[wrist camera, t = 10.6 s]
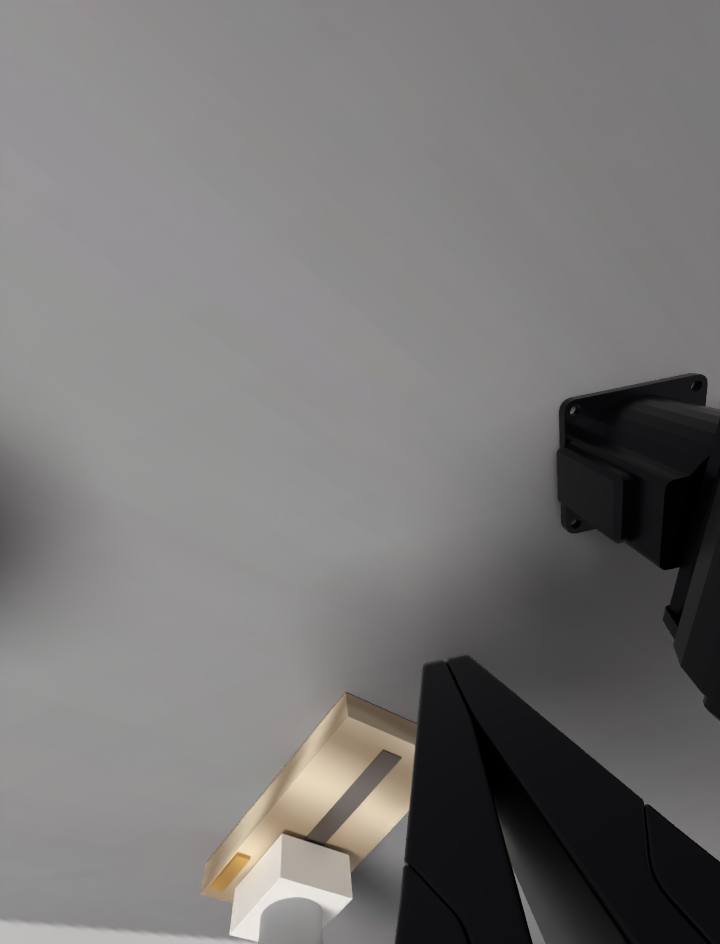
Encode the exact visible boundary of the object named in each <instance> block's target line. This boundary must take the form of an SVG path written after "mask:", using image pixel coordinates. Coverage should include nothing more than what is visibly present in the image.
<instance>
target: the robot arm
mask: <svg viewBox="0 0 720 944" xmlns="http://www.w3.org/2000/svg"><path fill="white" fill-rule="evenodd" d="M693 382H695V384H694V387H693V388H692V389H691V386H692V384H693ZM707 385H708V383H707V378H706V377H705V376H704V375H702V374H695V373H689V374H684V375H679V376H675V377H670V378H665V379H660V380H655V381H650V382H645V383H640V384H635V385H630V386H625V387H621V388H616V389H611V390H606V391H601V392H596V393H591V394H586V395H581V396H576V397H571V398H568V399H566V400H565V401H564V402H563V403H562V404H561V406H560V411H559V416H560V448H559V449H558V451H557V474H558V500H559V501H560V502H561V523H562V526H563V527H564V528H565V529H566V530H567V531H568V532H570V533H579V532H584V531H588V530H593V529H598V530H599V531H600V532H602V533H603V534H604V535H606V536H607V537H608V538H610V539H611V540H613V541H614V542H615V543H618V544H619V543H623V542H625V543H626V544H628V545H629V546H631V547H632V548H633V549H635V550H636V551H638V552H639V553H640V554H642V555H643V556H645V557H646V558H647V559H649V560H650V561H652V562H653V563H654V564H656V565H657V566H659V567H660V568H661V569H663V570H669V569H673V568H678V567H680V569H679V572H678V576H677V580H676V584H675V587H674V591H673V595H672V599H671V602H670V605H668V606H666V608H665V612H664V615H663V622H664V623H665V625H666V627H667V628H668V630H669V631H670V633H671V635H672V636H673V638H674V644H673V645H674V648H675V651H676V654H677V657H678V660H679V663H680V666H681V667H682V668H683V670H684V671H685V672H686V673H687V675H688V676H689V677H690V678H691V680H692V681H693V682H694V683H695V685H696V686H697V687H698V688H699V690H700V691H701V692H702V693H703V694H704V695H705V697H704V700H703V703H704V706H705V707H706V708H707V710H708V711H709V712H710V713H711V714H712V715H713V716H714V717H716V718H717V719H718V720H719V721H720V410H718V409H714V408H710V407H705V405H706V395H707ZM574 405H575V406H576V410H575V412H574V413H573V414H570V409H571V408H572V406H574ZM575 519H576V522H575V523H574V524H572V525H571V523H572V521H573V520H575ZM404 862H405V866H404V867H403V875H402V886H401V896H400V905H399V913H398V921H397V929H396V937H395V944H533V943H532V939H531V936H530V932H529V928H528V925H527V921H526V917H525V913H524V910H523V906H522V902H521V899H520V895H519V891H518V888H517V884H516V880H515V876H514V873H513V869H514V872H515V874H516V876H517V879H518V881H519V883H520V886H521V888H522V890H523V892H524V895H525V897H526V899H527V902H528V904H529V906H530V909H531V911H532V913H533V915H534V918H535V920H536V922H537V925H538V927H539V929H540V932H541V934H542V936H543V938H544V941H545V943H546V944H720V862H719V861H718V860H717V859H716V858H714V857H713V856H712V855H711V854H709V853H708V852H707V851H706V850H704V849H703V848H702V847H700V846H699V845H698V844H697V843H695V842H694V841H693V840H692V839H690V838H689V837H688V836H687V835H685V834H684V833H683V832H682V831H680V830H679V829H678V828H677V827H675V826H674V825H673V824H672V823H671V822H669V821H668V820H667V819H666V818H665V817H663V816H662V815H661V814H660V813H659V812H657V811H656V810H655V809H654V808H653V807H651V806H650V805H648V804H646V805H645V806H644V801H643V800H642V799H641V798H640V797H639V796H638V795H637V794H635V793H634V792H633V791H632V790H631V789H629V788H628V787H627V786H626V785H625V784H623V783H622V782H621V781H620V780H619V779H617V778H616V777H615V776H614V775H613V774H611V773H610V772H609V771H608V770H606V769H605V768H604V767H603V766H602V765H600V764H599V763H598V762H597V761H596V760H594V759H593V758H592V757H591V756H590V755H588V754H587V753H586V752H585V751H584V750H582V749H581V748H580V747H579V746H578V745H576V744H575V743H574V742H573V741H571V740H570V739H569V738H568V737H567V736H565V735H564V734H563V733H562V732H561V731H559V730H558V729H557V728H556V727H555V726H553V725H552V724H551V723H550V722H549V721H547V720H546V719H545V718H544V717H543V716H541V715H540V714H539V713H538V712H537V711H535V710H534V709H533V708H532V707H530V706H529V705H528V704H527V703H526V702H524V701H523V700H522V699H521V698H520V697H518V696H517V695H516V694H515V693H514V692H512V691H511V690H510V689H509V688H508V687H506V686H505V685H504V684H503V683H502V682H500V681H499V680H498V679H497V678H496V677H494V676H493V675H492V674H491V673H489V672H488V671H487V670H486V669H485V668H483V667H482V666H481V665H480V664H479V663H477V662H476V661H475V660H474V659H473V658H471V657H470V656H469V655H466V654H464V655H459V656H455V657H451V658H448V659H447V660H446V662H445V661H444V660H438V661H433V662H429V663H425V664H424V665H423V669H422V679H421V690H420V700H419V711H418V722H417V732H416V743H415V753H414V764H413V774H412V785H411V795H410V806H409V816H408V827H407V837H406V847H405V858H404ZM512 867H513V869H512Z"/></svg>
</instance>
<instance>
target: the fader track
mask: <svg viewBox="0 0 720 944" xmlns="http://www.w3.org/2000/svg"><path fill="white" fill-rule="evenodd" d="M416 732H417V724H415V723H413V722H411V721H408V720H406V719H404V718H402V717H399V716H397V715H395V714H393V713H391V712H388V711H386V710H384V709H382V708H379V707H377V706H375V705H373V704H370V703H368V702H366V701H364V700H362V699H359V698H357V697H355V696H353V695H350V694H348V693H345V694H344V695H343V696H342V698H341V699H340V700H339V701H338V702H337V704H336V705H335V706H334V707H333V709H332V710H331V711H330V712H329V713H328V715H327V716H326V717H325V718H324V720H323V721H322V722H321V723H320V725H319V726H318V727H317V728H316V729H315V731H314V732H313V733H312V734H311V736H310V737H309V738H308V739H307V740H306V742H305V743H304V744H303V745H302V747H301V748H300V749H299V750H298V751H297V753H296V754H295V755H294V756H293V758H292V759H291V760H290V761H289V762H288V764H287V765H286V766H285V767H284V769H283V770H282V771H281V772H280V774H279V775H278V776H277V777H276V778H275V780H274V781H273V782H272V783H271V785H270V786H269V787H268V788H267V789H266V791H265V792H264V793H263V794H262V796H261V797H260V798H259V799H258V800H257V802H256V803H255V804H254V805H253V807H252V808H251V809H250V810H249V811H248V813H247V814H246V815H245V816H244V818H243V819H242V820H241V821H240V823H239V824H238V825H237V826H236V827H235V829H234V830H233V831H232V832H231V834H230V835H229V836H228V837H227V838H226V840H225V841H224V842H223V843H222V845H221V846H220V847H219V848H218V849H217V851H216V852H215V853H214V854H213V856H212V857H211V858H210V859H209V861H208V862H207V863H206V865H205V871H204V876H203V882H202V887H201V893H200V894H201V895H204V896H208V897H212V898H216V899H220V900H223V901H227V902H231V903H233V901H234V893H235V888H236V887H237V886H238V884H239V883H240V882H241V881H242V880H243V879H244V877H245V876H246V875H247V874H248V873H249V872H250V870H251V869H252V868H253V867H254V866H255V865H256V863H257V862H258V861H259V860H260V859H261V858H262V856H263V855H264V854H265V853H266V852H267V851H268V849H269V848H270V847H271V846H272V845H273V844H274V842H275V841H276V840H277V839H278V838H279V837H280V835H281V834H285V835H289V836H292V837H295V838H298V839H301V840H304V841H307V842H310V843H313V844H316V845H319V846H322V847H326V848H329V849H332V850H335V851H338V852H341V853H344V854H347V855H349V860H350V872H352V871H353V870H354V869H355V867H356V866H357V865H358V864H359V863H360V862H361V861H362V860H363V859H364V858H365V857H366V856H367V855H368V854H369V853H370V851H371V850H372V849H373V848H374V847H375V846H376V845H377V844H378V843H379V842H380V841H381V840H382V839H383V838H384V837H385V835H386V834H387V833H388V832H389V831H390V830H391V829H392V828H393V827H394V826H395V825H396V824H397V823H398V822H399V821H400V820H401V818H402V817H403V816H404V815H405V814H406V813H407V812H408V811H409V806H410V795H411V785H412V774H413V764H414V753H415V743H416Z"/></svg>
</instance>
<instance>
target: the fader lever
mask: <svg viewBox="0 0 720 944" xmlns="http://www.w3.org/2000/svg"><path fill="white" fill-rule="evenodd" d="M352 899H353V897H352V885H351V872H350V860H349V855H347V854H344V853H341V852H338V851H335V850H332V849H329V848H326V847H322V846H319V845H316V844H313V843H310V842H307V841H304V840H301V839H298V838H295V837H292V836H289V835H285V834H281V835H280V837H279V838H278V839H277V840H276V841H275V842H274V844H273V845H272V846H271V847H270V848H269V849H268V851H267V852H266V853H265V854H264V855H263V856H262V858H261V859H260V860H259V861H258V862H257V863H256V865H255V866H254V867H253V868H252V869H251V870H250V872H249V873H248V874H247V875H246V876H245V877H244V879H243V880H242V881H241V882H240V883H239V884H238V886H237V887H236V888H235V893H234V901H233V909H232V918H231V926H230V934H229V935H232V936H236V937H240V938H244V939H248V940H253V941H257V942H258V944H323V940H322V930H323V929H324V928H325V927H326V926H327V925H328V924H329V923H330V922H331V921H332V920H333V919H334V917H335V916H336V915H337V914H338V913H339V912H340V911H341V910H342V909H343V908H344V907H345V906H346V905H347V904H348V903H349V902H350V901H351V900H352Z"/></svg>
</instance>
